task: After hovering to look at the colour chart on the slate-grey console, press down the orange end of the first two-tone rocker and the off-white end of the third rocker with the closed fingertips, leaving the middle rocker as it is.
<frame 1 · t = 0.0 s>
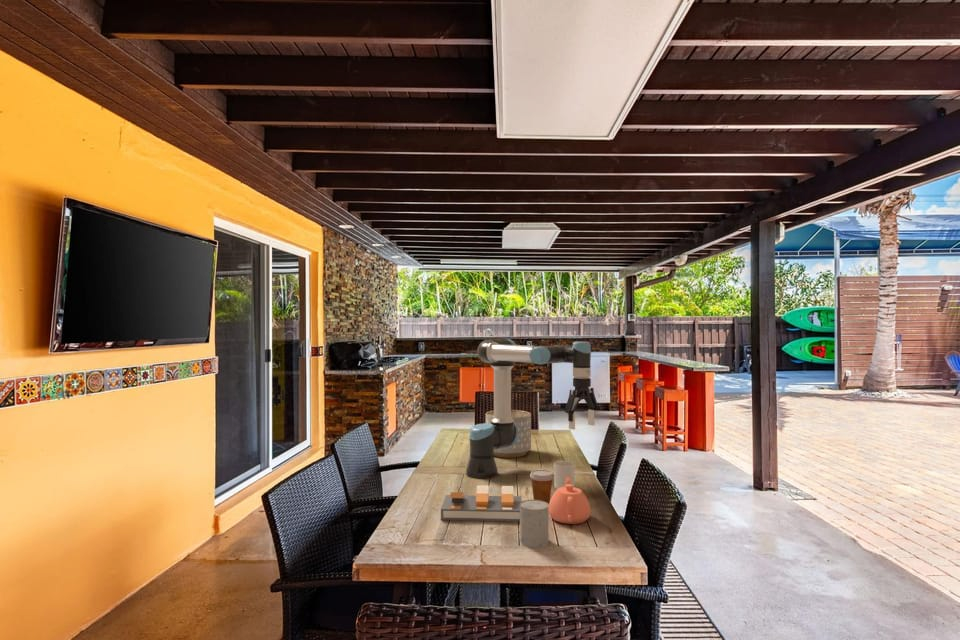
hand: (581, 427, 225), 28 cm above the table, fingers open, 13 cm apart
planter: (508, 453, 294), on the table
rocker b: (482, 495, 200), point 7 cm above the table, hinge at 18.0°
mug: (564, 488, 231), on the table
teapot: (569, 518, 195), on the table
rocker a: (457, 495, 200), point 7 cm above the table, hinge at -18.0°
rocker c: (507, 496, 199), point 7 cm above the table, hinge at 18.0°
grey cylinder: (534, 542, 173), on the table
disposable coffee cup: (541, 502, 212), on the table
console: (482, 512, 200), on the table
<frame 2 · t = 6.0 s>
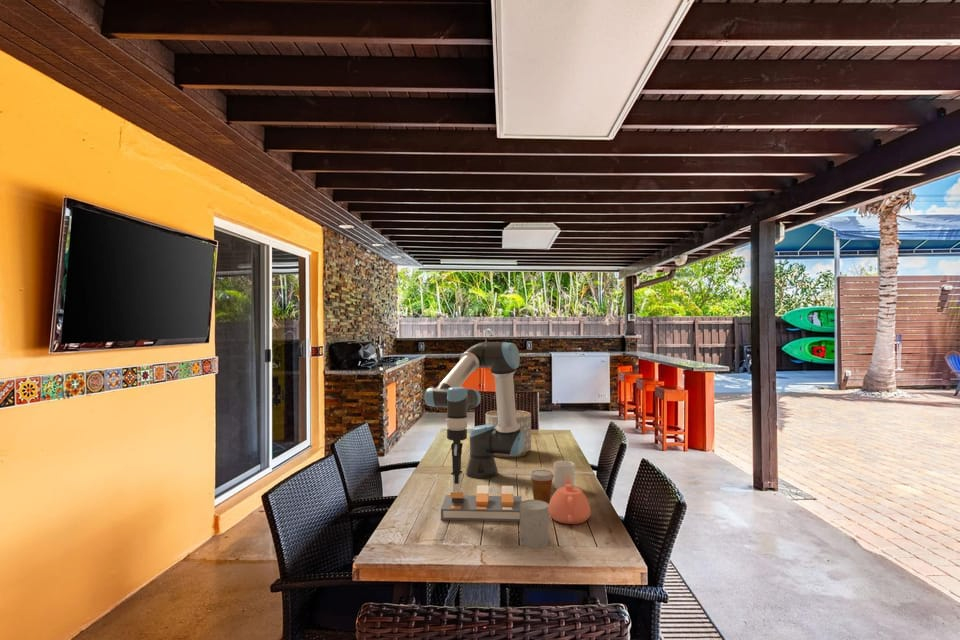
hand: (456, 491, 197), 9 cm above the table, fingers closed
rocker a: (457, 495, 200), point 7 cm above the table, hinge at -18.0°, touching gripper
everything else where it was.
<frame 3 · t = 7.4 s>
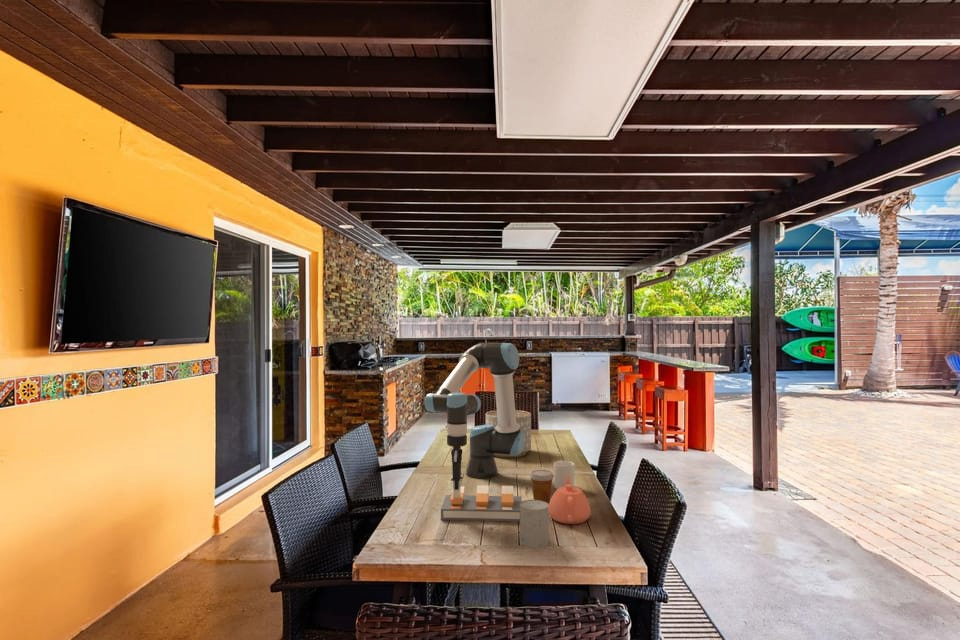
hand: (456, 497, 197), 7 cm above the table, fingers closed
rocker a: (457, 495, 200), point 7 cm above the table, hinge at 10.6°, touching gripper
everything else where it was.
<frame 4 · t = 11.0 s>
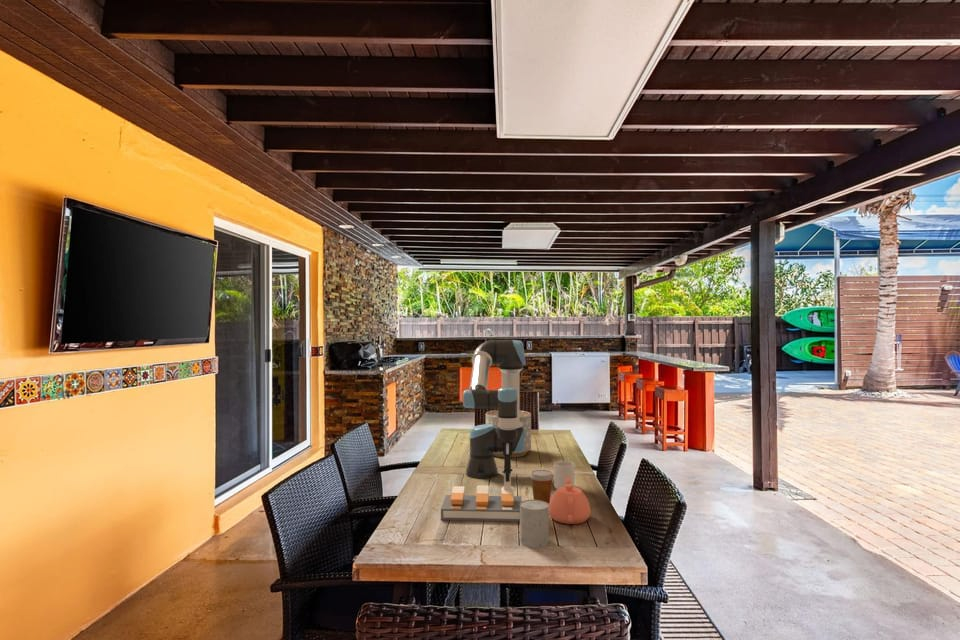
hand: (507, 489, 203), 8 cm above the table, fingers closed
rocker a: (457, 495, 200), point 7 cm above the table, hinge at 10.7°
rocker c: (507, 496, 199), point 7 cm above the table, hinge at 12.9°, touching gripper
everything else where it was.
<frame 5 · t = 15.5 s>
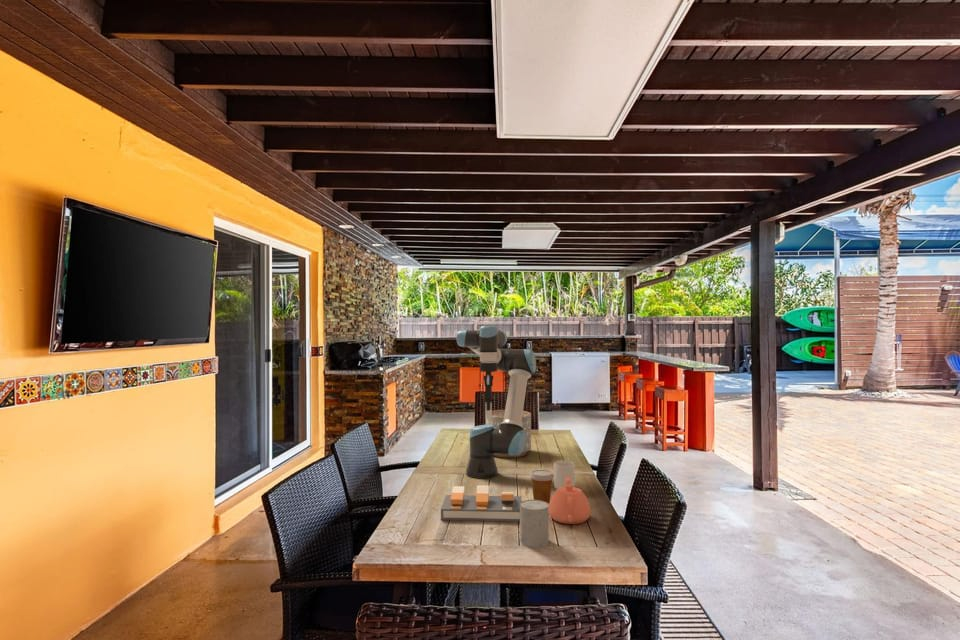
hand: (488, 417, 223), 32 cm above the table, fingers closed
rocker c: (507, 496, 199), point 7 cm above the table, hinge at -11.9°
everything else where it was.
at the end: rocker a at +11° (first picture: -18°); rocker b at +18° (first picture: +18°); rocker c at -12° (first picture: +18°) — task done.
